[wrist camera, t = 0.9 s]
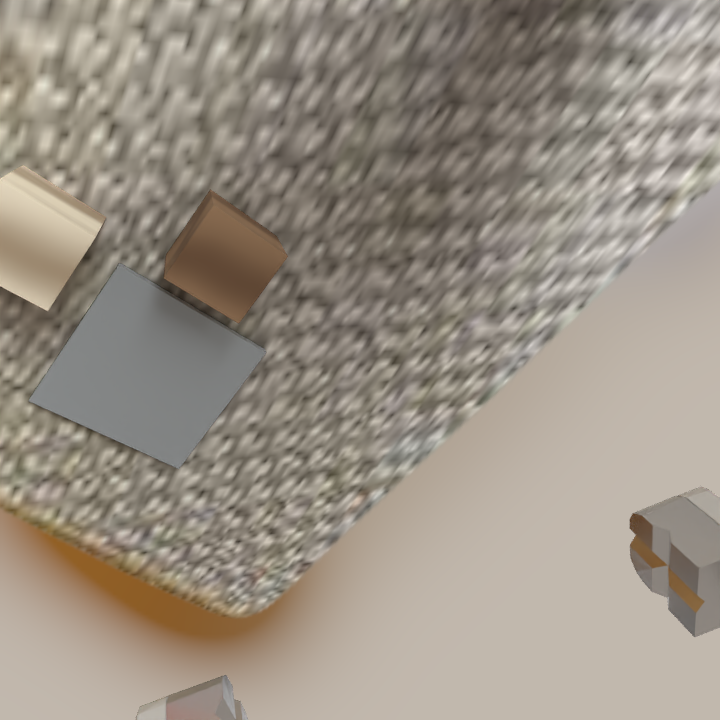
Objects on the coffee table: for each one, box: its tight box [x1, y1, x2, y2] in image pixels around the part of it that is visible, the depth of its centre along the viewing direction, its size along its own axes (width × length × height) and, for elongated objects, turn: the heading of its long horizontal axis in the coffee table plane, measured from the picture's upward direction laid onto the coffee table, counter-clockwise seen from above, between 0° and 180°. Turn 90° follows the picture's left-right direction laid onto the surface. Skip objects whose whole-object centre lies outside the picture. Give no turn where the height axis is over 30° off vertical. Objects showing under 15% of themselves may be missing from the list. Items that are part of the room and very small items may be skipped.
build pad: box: [29, 263, 266, 469], centre depth 41 cm, size 11×11×1 cm
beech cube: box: [0, 165, 106, 311], centre depth 33 cm, size 5×5×5 cm
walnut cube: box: [164, 189, 288, 323], centre depth 37 cm, size 5×5×5 cm
